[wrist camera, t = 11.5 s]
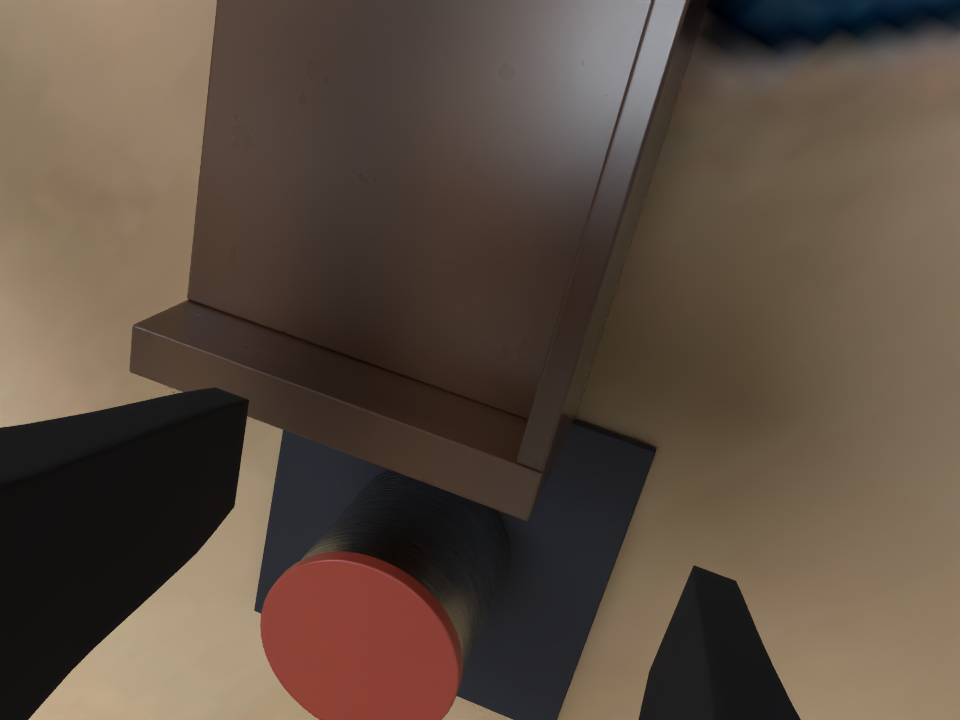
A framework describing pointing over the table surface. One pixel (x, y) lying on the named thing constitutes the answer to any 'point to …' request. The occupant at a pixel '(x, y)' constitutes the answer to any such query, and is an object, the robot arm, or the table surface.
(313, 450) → the felt coaster
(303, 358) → the desk shelf
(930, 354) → the table surface
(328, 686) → the cylinder
